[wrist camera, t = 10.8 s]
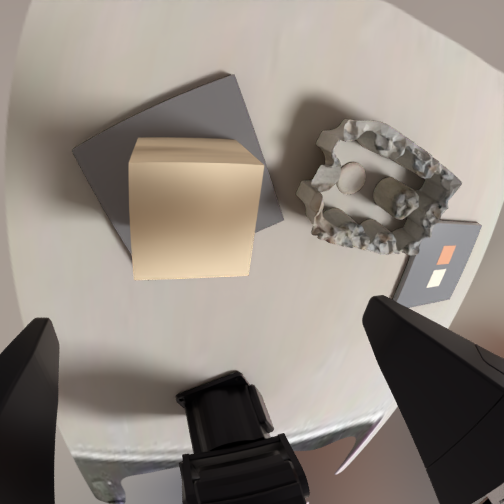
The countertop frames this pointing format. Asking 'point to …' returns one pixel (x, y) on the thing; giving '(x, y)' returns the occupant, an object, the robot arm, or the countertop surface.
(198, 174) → the maple block
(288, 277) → the countertop surface
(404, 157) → the egg carton
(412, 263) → the tile
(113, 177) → the charcoal mat
